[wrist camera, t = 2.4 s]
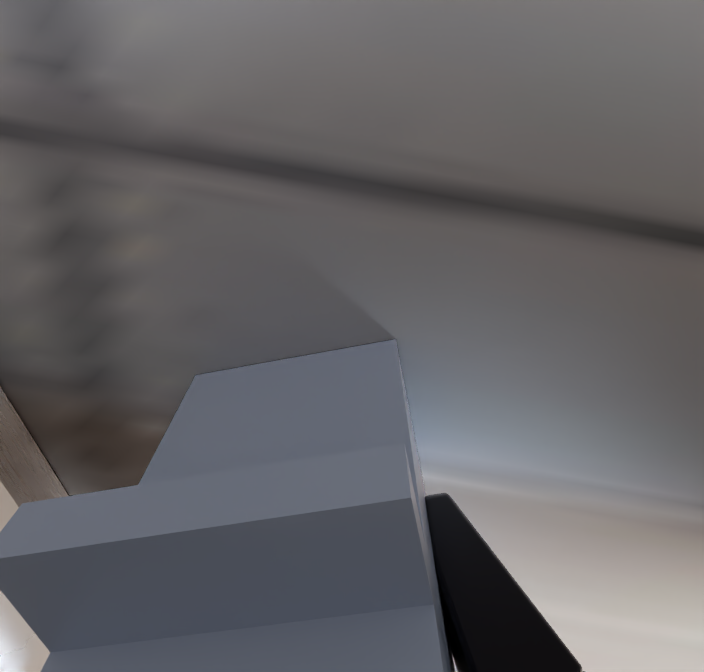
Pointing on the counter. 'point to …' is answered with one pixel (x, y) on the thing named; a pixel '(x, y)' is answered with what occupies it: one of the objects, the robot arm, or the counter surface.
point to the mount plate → (3, 501)
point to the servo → (248, 535)
